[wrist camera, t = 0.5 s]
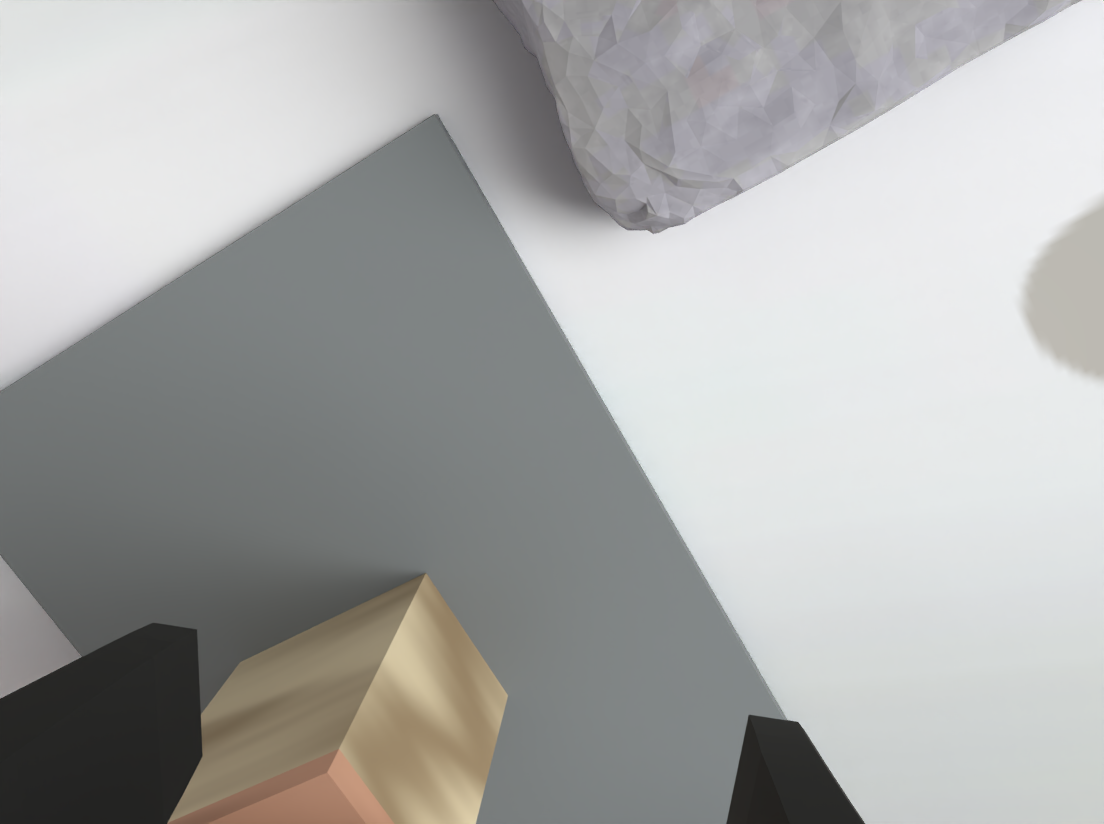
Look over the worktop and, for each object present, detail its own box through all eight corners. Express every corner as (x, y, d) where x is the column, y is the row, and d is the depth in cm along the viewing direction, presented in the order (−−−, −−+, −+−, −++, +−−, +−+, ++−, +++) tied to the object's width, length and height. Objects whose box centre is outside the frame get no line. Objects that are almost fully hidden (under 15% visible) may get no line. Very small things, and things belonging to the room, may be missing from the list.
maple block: (507, 695, 23) (448, 933, 16) (324, 773, 24) (201, 1020, 18) (426, 572, 22) (327, 772, 15) (240, 661, 23) (77, 878, 17)
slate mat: (838, 809, 23) (840, 817, 23) (350, 978, 27) (347, 987, 27) (437, 114, 19) (434, 114, 18) (-77, 443, 23) (-87, 447, 22)
